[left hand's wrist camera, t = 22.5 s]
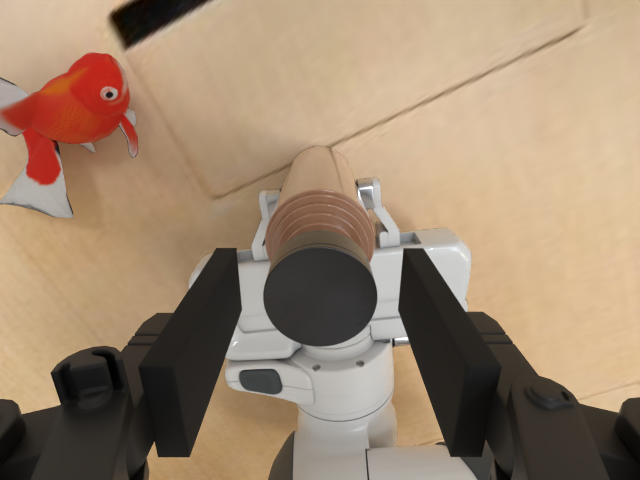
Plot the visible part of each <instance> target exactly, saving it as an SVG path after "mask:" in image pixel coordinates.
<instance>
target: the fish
mask: <svg viewBox="0 0 640 480" xmlns="http://www.w3.org/2000/svg"><path fill="white" fill-rule="evenodd" d="M129 101H130V94H129V88H128V82H127V78H126V74H125V72H124V70H123V68H122V67H121V65H120V64H119V62H118V61H117V60H116V59H115V58H113V57H112V56H111V55H109V54H100V53H92V52H91V53H87V54H85V55H84V56H83V57H82V58H81V59H79V60H78V61H76V62H75V63H74V64H73V65H72V66H71V68H70V69H69V71H68V72H67V73H65V74H62V75H60V76H58V77H56V78H54V79H52V80H50V81H49V82H48V83H47V84H46V85H45V86H44V87H43V88H42V89H41V90H40V91H38V92H35V93H32V94H30V95H28V94H27V93H26V92H25V91H23V90H22V89H21V88H19V87H18V86H16V85H15V84H13V83H11V82H9V81H7V80H5V79H3V78H0V129H1V130H3V131H5V132H6V133H7V134H9V135H11V136H17V135H19V134H21V133H22V134H23V137H24V139H25V142H26V145H27V149H28V159H27V163H26V166H25V168H24V170H23V171H22V172H21V174H20V175H19V177H18V178H17V179H16V181H15V182H14V183H13V185H12V186H11V188H10V189H9V190H8V192H7V193H6V194H5V196H4V197H3V198H2V199H1V200H0V204H8V205H16V206H21V207H25V208H29V209H33V210H37V211H39V212H42V213H45V214H47V215H50V216H52V217H62V218H73V211H72V208H71V206H70V203H69V200H68V197H67V193H66V186H65V180H64V175H63V169H62V163H61V158H60V152H59V146H58V143H57V141H60V142H65V143H71V144H80V145H82V146H83V147H85V148H87V149H88V150H90V151H91V152H93V153H96V151H95V149H94V147H93V145H92V143H91V142H95V141H98V140H100V139H102V138H105V137H107V136H109V135H110V134H111V133H113V132H114V131H115V130H116V128H117V127H118V126H120V128H121V130H122V131H123V133H124V134H125V136H126V138H127V141H128V150H129V153H130V155H131V157H132V158H134V157H136V155H137V153H138V136H137V134H136V131H135V129H134V127H133V126H134V125H136V115H135V111H134V110H131V109H128V107H129Z"/></svg>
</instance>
